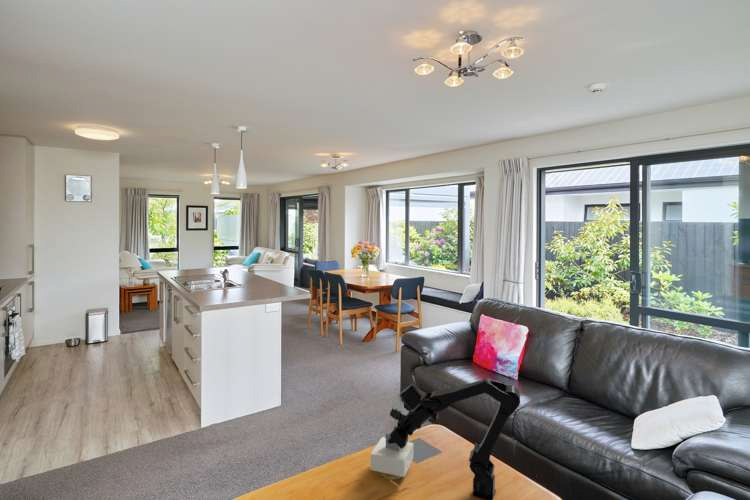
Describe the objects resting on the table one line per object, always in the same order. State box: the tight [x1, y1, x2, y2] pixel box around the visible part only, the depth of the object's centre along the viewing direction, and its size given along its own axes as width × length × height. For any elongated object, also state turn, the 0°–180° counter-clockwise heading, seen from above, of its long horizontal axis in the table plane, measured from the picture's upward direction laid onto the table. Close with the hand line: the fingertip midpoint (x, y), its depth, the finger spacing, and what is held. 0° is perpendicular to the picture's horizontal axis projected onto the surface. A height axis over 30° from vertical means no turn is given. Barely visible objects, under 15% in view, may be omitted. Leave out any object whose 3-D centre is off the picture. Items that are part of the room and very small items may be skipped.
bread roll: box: [379, 472, 402, 481], centre depth 150 cm, size 8×9×4 cm
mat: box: [408, 437, 443, 464], centre depth 165 cm, size 14×14×1 cm
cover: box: [370, 431, 413, 478], centre depth 149 cm, size 13×13×11 cm
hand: (389, 441), depth 150 cm, fingers closed on cover
